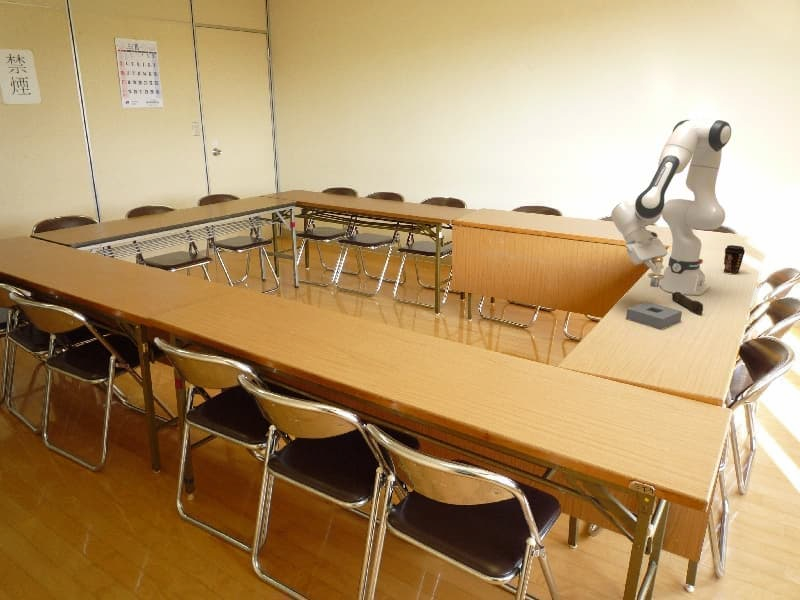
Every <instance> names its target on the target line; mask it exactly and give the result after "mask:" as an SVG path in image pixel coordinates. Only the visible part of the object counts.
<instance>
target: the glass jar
mask: <svg viewBox="0 0 800 600" xmlns="http://www.w3.org/2000/svg"><path fill="white" fill-rule="evenodd" d="M663 262H664V257H663V258H654V260H653V264H654V265H656V266H657V268H658V269H657V270H656V271H652V270H651V273H648V274H647V278H649V279H650V282H649V286H650V287H653V288H658V287H659V283H660V280H662V279H663V278H664V276H663V275H664V274H661V273H662V269H663V268H662V265H663ZM661 268H662V269H661Z"/></svg>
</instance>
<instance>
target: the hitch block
mask: <svg viewBox="0 0 800 600" xmlns="http://www.w3.org/2000/svg"><path fill="white" fill-rule="evenodd" d="M682 313H683V311H682V310H679V309H675V308H672V307H668V306H666V305H665V306H664V305H661V304H657V303H654V302H650V301H645V302H642V303H639V304H637V305H634V306H631V307H628V308H627V309H626V316H625V319H626V318H627V319H626V320H629V319H630V320H629V321H632V320H634V321H633V322H635V321H637V322H636V323H638V322H640V323H639V324H642V323H643V324H642V325H645V324H646V325H645V326H648V325H650V326H649V327H651V326H652V327H651V328H654V327H656V328H655V329H658V328H659V329H658V330H663V328H664V329H666V328H668V327H671V326H673V325H675V324H678V323H680V322H681V319H682V315H683V314H682ZM670 325H671V326H670ZM665 327H666V328H665Z"/></svg>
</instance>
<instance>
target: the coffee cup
mask: <svg viewBox="0 0 800 600" xmlns="http://www.w3.org/2000/svg"><path fill="white" fill-rule="evenodd" d="M744 255H745V248H744V247H743V246H741V245H733V244H732V245H727V246H726V247H725V249H724V258H723V259H724V261H723V264H724V269H723V271H724V272H726V273H731V274H730V275H738V274H739V271H740V269H741V267H742V263H743V258H744ZM724 272H723V273H724ZM726 273H725V274H726ZM737 273H738V274H737Z"/></svg>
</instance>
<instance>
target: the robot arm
mask: <svg viewBox="0 0 800 600" xmlns="http://www.w3.org/2000/svg"><path fill="white" fill-rule="evenodd" d="M731 135H732V126H731V125H730V123H729V122H727V121H725V120H723V119H722V120H721V119H707V118H706V119H704V118H702V119H691V120H690V119H686V120H680V121H679V122H677V123H676V125H675V126H674V127H673V129H672V133H671V134H670V136H669V137H668V139H667V141H666V142H665V144H664V147H663V148H662V151H661V153H660V156H659V159H658V164H657V165H658V166H657V170H656V171H655V174H654V175H653V178H652V180H651V181H650V184H649V185H648V186H647V188H645V190H644V191H642V192H641V193H640V194H639V195H638V196H637V197H636V200H635V201H630V202H628V201H622V202H620V203H618V204H617V205H616V206H615V207H614V208H613V209H612V211H611V216H610V217H611V221H612V222H613V224H614V225H615V227H616V229H617V231H618V232H620V233H621V234H622V237H623V239H624V241H625V243H626V244H625V249H626V253H627V255H628V257H629V258H630V260H631V262H632V263H633V264H634V265H635V266H637V265H639V264H640V265H641V264H643V263H644V265H646V266H647V267H648V268H649V269H650V270H651V272H652V271H656V270H657V269H658V268H657V266H656V265H654V258H663V259H664V258H665V257H666V255H668V250H667V248H666V247H665V245H664V243H663V241H662V240H660V238H659V235H658V233H657V232H656V231H655V232H654V231H651V230H649V229H647V228H646V227H648V226H651V225H654V224H655V223H657V222H658V221H659V220H660V219H661V217H662V219H663V221H664V222H665V223H666V224H667V226H668V228H669V229H670V232H671V236H672V244H671V253H670V256H669V258H668V265H667V267H666V268H664V267H665V266H664V264H662V268H661V270H662V269H664V272H663V274H662V275H663V276H664V278H663V279H661V281H659V285H658V287H661V289H662V290H663V291H666V292H668V293H672V294H673V293H675V292H680V293H681V294H682V295H689V296H690V295H693V296H702V295H703V294H704V293H705V292H706V291H708V289H710V285H708V284H705V281H706V275H705V273H703V271H702V269H700V268H701V265H702V264H703V262H704V260H703V259H702V258H700V256H701V252H702V251H701V250H702V242H701V239H700V238H699V237H698V236H696V235H695V233H694V232H693V228H694V229H699V230H717V229H718V228H720V227H721V226H722V225H723V224H724V222H725V220H726V212H725V209H724V207H722V205H721V204H720V203H719V201H718V198H717V195H716V184H717V178H718V174H719V169H720V166H721V161H722V153H723V151H722V150H723V148H724V147H725V146H726V145H727V144H728V143H729V141H730V140H731V138H732V136H731ZM689 163H690V164H689ZM688 165H689V168H688V171H687V175H686V179H685V186H686V187H687V189H688V190H689V191H691V192H692V193H693V195H694V200H691V199H682V198H674V199H668V200H667V201H665V196H666V195H665V194H666V191H667V190H668V188H669V186H670V183H671V182H672V180H673V178H674V177H675V175H676V174H677V175H678V174H681V173H682V172H683V171H684V170H685V169H686V168H687V166H688Z"/></svg>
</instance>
